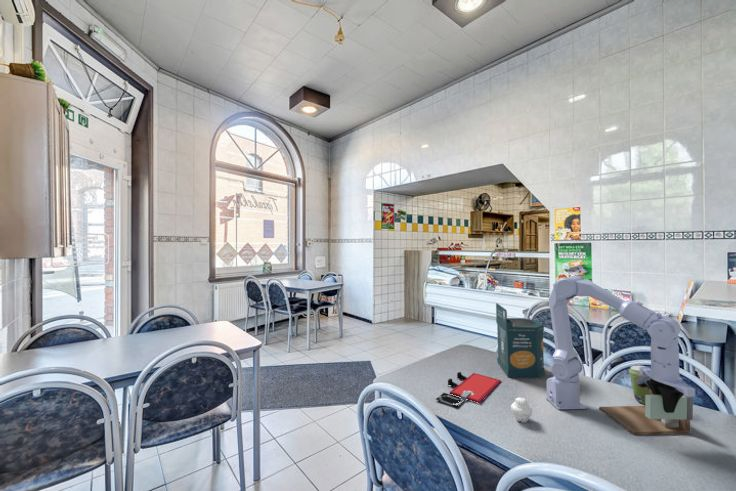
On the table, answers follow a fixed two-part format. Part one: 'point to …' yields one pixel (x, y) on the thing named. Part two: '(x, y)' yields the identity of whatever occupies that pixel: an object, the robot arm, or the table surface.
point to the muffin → (521, 409)
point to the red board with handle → (469, 389)
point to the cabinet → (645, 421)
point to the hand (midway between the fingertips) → (665, 409)
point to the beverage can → (639, 383)
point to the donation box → (519, 345)
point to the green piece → (656, 408)
